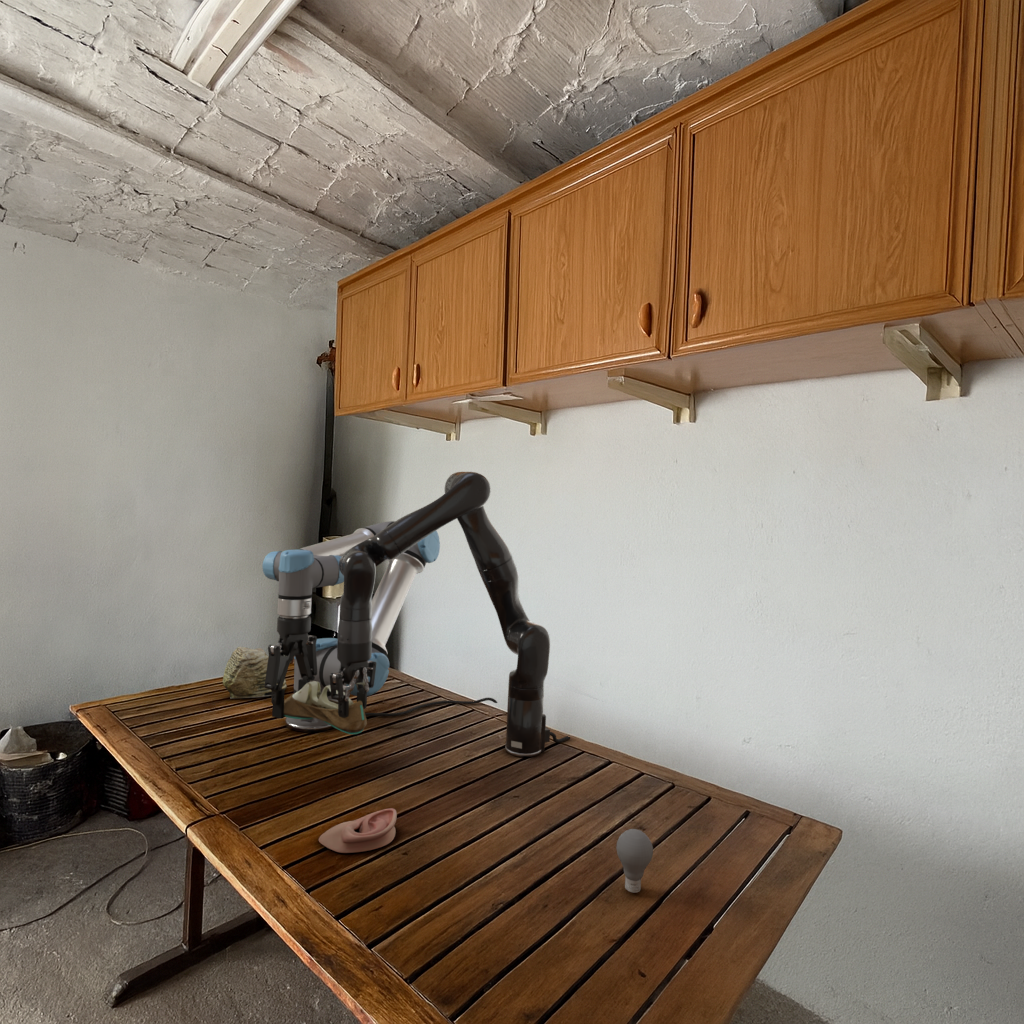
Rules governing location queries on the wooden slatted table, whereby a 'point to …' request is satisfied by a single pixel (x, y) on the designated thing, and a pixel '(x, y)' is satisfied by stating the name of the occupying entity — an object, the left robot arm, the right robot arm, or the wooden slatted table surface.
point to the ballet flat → (324, 709)
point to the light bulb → (634, 857)
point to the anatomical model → (362, 833)
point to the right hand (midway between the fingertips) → (352, 712)
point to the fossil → (247, 673)
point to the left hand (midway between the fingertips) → (290, 711)
